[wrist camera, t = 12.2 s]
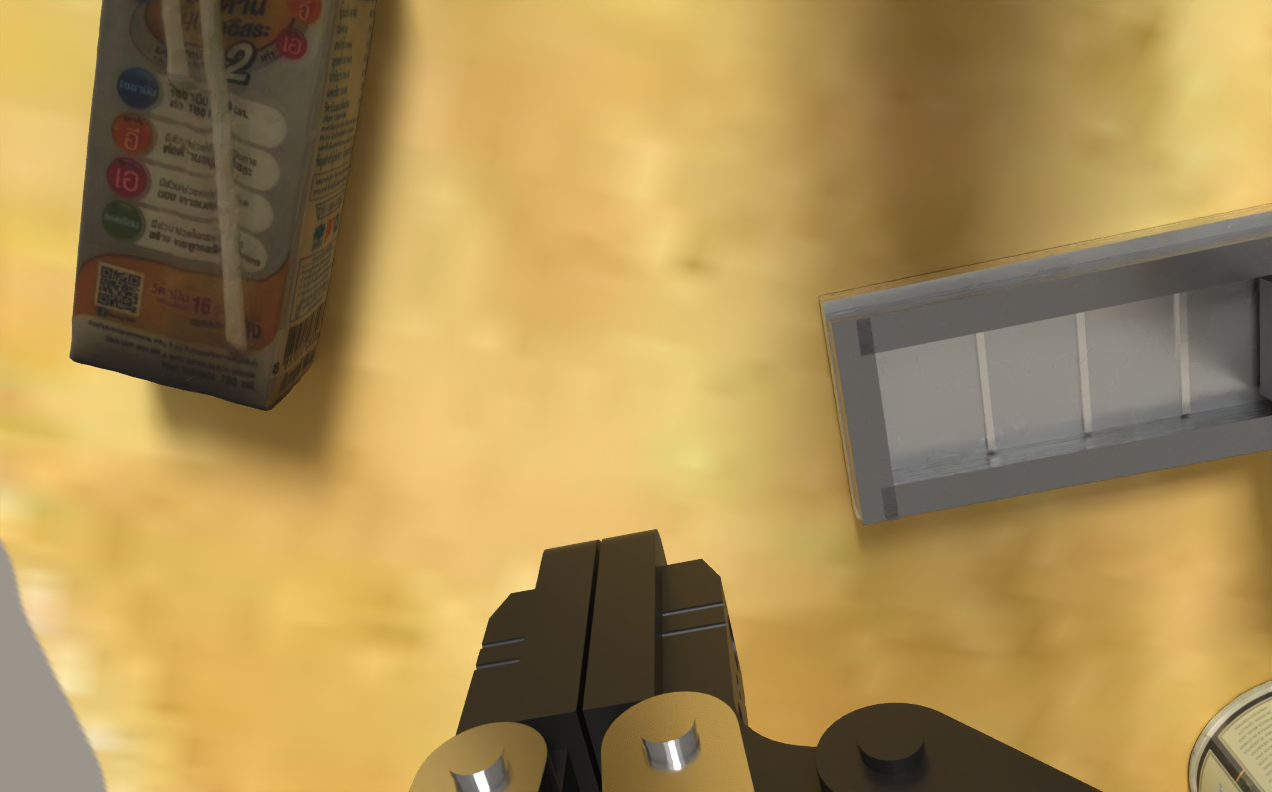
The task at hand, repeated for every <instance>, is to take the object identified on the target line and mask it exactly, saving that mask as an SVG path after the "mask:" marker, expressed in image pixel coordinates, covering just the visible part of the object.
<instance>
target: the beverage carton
mask: <svg viewBox="0 0 1272 792" xmlns="http://www.w3.org/2000/svg"><path fill="white" fill-rule="evenodd" d="M375 7H376V0H102V9H101V17H100V29H99V39H98V47H97V61H96V71H95V80H94V89H93V97H92V106H91V117H90V126H89V135H88V145H87V159H86V170H85V180H84V191H83V202H82V214H81V225H80V235H79V246H78V258H77V270H76V282H75V294H74V305H73V317H72V342H71V350H70V359H72V360H73V361H74V362H77V363H81V364H86V365H90V366H94V367H98V368H102V369H106V370H111V371H116V372H119V373H122V374H125V375H129V376H132V377H136V378H140V379H144V380H148V381H151V382H154V383H157V384H161V385H165V386H169V387H174V388H178V389H182V390H186V391H192V392H197V393H201V394H206V395H211V396H214V397H217V398H220V399H223V400H226V401H230V402H233V403H237V404H241V405H245V406H249V407H252V408H256V409H260V410H265V411H267V410H271V409H272V408H274V407H275V406H276V405H277V404H278V403H279V402H280V401H281V400H282V399H283V398H284V397H285V396H286V395H287V394H288V393H289V391H290V390H291V389H292V387H293V386H294V385H295V384H296V383H297V382H298V381H299V380H300V379H301V377H302V376H303V375H304V374H305V373H306V372H307V370H308V369H309V368H310V367H311V365H312V363H313V358H314V353H315V349H316V345H317V341H318V338H319V334H320V328H321V323H322V318H323V313H324V308H325V302H326V297H327V291H328V286H329V280H330V275H331V269H332V264H333V258H334V253H335V248H336V242H337V236H338V229H339V222H340V215H341V210H342V206H343V202H344V194H345V189H346V184H347V178H348V172H349V166H350V159H351V153H352V148H353V142H354V137H355V131H356V125H357V119H358V113H359V107H360V102H361V97H362V91H363V85H364V79H365V73H366V66H367V60H368V53H369V47H370V40H371V34H372V28H373V21H374V14H375Z"/></svg>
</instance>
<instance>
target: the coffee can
mask: <svg viewBox="0 0 1272 792" xmlns="http://www.w3.org/2000/svg"><path fill="white" fill-rule="evenodd" d="M1189 782H1190V788H1191V792H1272V680H1271V681H1268V682H1266V683H1263V684H1261V685H1259V686H1256V687H1254V688H1252V689H1251V690H1249V691H1247V692H1245V693H1243V694H1241V695H1239V696H1238V697H1237V698H1235V699H1234V700H1233V701H1232V702H1230V703H1229V704H1228V705H1227V706H1225V707H1224V708H1222V709H1221V711H1220V712H1219V713H1217V714H1216V715H1215V716H1214V717H1213V718H1212V719H1211V720H1210V721H1209V723H1208V724H1207V726H1206V727H1205V728H1204V730H1203V731H1202V733H1201V734H1200V736H1199V738H1198V740H1197V742H1196V744H1195V746H1194V749H1193V751H1192V753H1191V759H1190V767H1189Z"/></svg>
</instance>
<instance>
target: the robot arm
mask: <svg viewBox="0 0 1272 792" xmlns="http://www.w3.org/2000/svg"><path fill="white" fill-rule="evenodd" d="M482 647H483V649H480V652H479V656H478V659H477V663H476V669H477V670H475V671H474V673H473V677H472V680H471V684H470V687H469V691H468V694H467V698H466V701H465V705H464V708H463V712H462V715H461V719H460V722H459V726H458V729H457V733H456V736H454V737H452V738H451V739H449V740H448V741H446V742H445V743H443V744H442V745H441V746H439V747H438V748H437V749H436V750H434V751H433V752H432V753H431V754H430V755H429V756H428V757H427V759H426V760H425V761H424V762H423V764H422V765H421V766H420V768H419V770H418V772H417V774H416V776H415V778H414V780H413V783H412V785H411V788H410V790H409V792H1102V791H1100V790H1098V789H1096V788H1094V787H1092V786H1090V785H1088V784H1086V783H1084V782H1082V781H1080V780H1078V779H1076V778H1074V777H1072V776H1069V775H1067V774H1065V773H1063V772H1061V771H1059V770H1057V769H1055V768H1053V767H1051V766H1049V765H1047V764H1045V763H1043V762H1041V761H1039V760H1037V759H1035V758H1033V757H1031V756H1029V755H1027V754H1024V753H1022V752H1020V751H1018V750H1016V749H1014V748H1012V747H1010V746H1008V745H1006V744H1004V743H1002V742H1000V741H998V740H996V739H994V738H992V737H990V736H988V735H986V734H984V733H982V732H979V731H977V730H975V729H973V728H971V727H969V726H967V725H965V724H963V723H961V722H959V721H957V720H955V719H953V718H951V717H949V716H947V715H945V714H943V713H940V712H938V711H936V710H933V709H931V708H927V707H923V706H920V705H914V704H907V703H885V704H877V705H872V706H867V707H864V708H861V709H858V710H855V711H853V712H851V713H849V714H847V715H845V716H843V717H842V718H840V719H839V720H837V721H835V722H834V723H833V724H832V725H831V726H830V727H829V728H828V729H827V730H826V732H825V733H824V734H823V736H822V737H821V739H820V741H819V743H818V745H817V747H808V746H797V745H790V744H784V743H780V742H776V741H773V740H771V739H768V738H766V737H763V736H761V735H760V734H758V733H756V732H754V731H753V730H752V729H751V728H749V727H748V720H747V712H746V706H745V697H744V689H743V681H742V674H741V670H740V665H739V660H738V656H737V651H736V647H735V642H734V637H733V633H732V628H731V624H730V619H729V614H728V610H727V605H726V601H725V596H724V591H723V587H722V582H721V578H720V576H719V575H718V574H717V573H716V572H715V571H714V570H713V569H712V568H711V567H710V566H709V565H708V564H707V563H706V562H705V561H704V560H703V559H698V560H693V561H687V562H682V563H676V564H671V565H667V562H666V558H665V554H664V550H663V546H662V542H661V538H660V535H659V533H658V530H657V529H654V530H649V531H643V532H638V533H632V534H627V535H622V536H616V537H611V538H606V539H602V542H601V541H600V540H594V541H589V542H583V543H578V544H572V545H567V546H562V547H556V548H551V549H546V550H544V552H543V556H542V561H541V565H540V570H539V574H538V579H537V583H536V588H535V589H533V590H527V591H522V592H516V593H511V594H510V595H509V596H508V598H507V599H506V600H505V601H504V602H503V603H502V604H501V606H500V607H499V608H498V609H497V610H496V611H495V612H494V614H493V615H492V616H491V617H490V618H489V621H488V625H487V628H486V632H485V635H484V639H483V642H482Z"/></svg>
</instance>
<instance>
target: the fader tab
mask: <svg viewBox="0 0 1272 792" xmlns="http://www.w3.org/2000/svg"><path fill="white" fill-rule="evenodd" d="M1260 394H1261V395H1263V396H1264V397H1266V398H1268V399H1269V400H1271V401H1272V275H1269V276H1264V277H1260Z"/></svg>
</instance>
